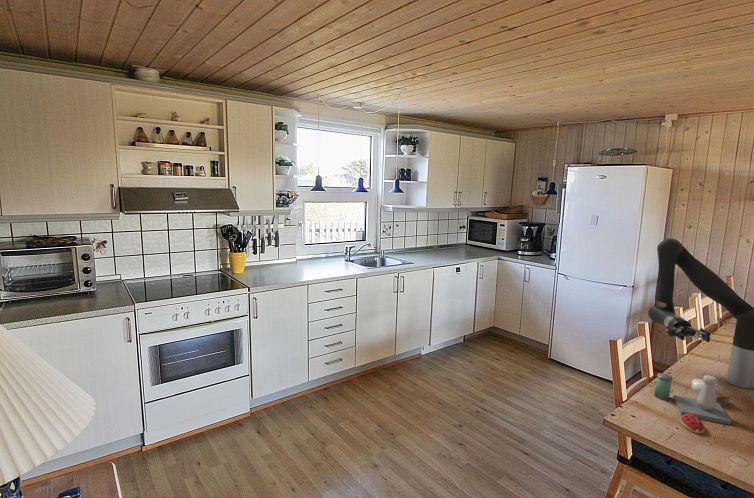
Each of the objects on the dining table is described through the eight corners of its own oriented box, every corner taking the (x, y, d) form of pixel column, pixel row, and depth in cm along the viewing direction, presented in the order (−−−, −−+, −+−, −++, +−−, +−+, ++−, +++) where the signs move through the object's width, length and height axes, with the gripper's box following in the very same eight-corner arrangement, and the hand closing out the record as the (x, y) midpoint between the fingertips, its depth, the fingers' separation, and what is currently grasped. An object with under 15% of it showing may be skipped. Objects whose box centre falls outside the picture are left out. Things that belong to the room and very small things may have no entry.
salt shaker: (711, 405, 161) (716, 374, 159) (717, 413, 156) (723, 381, 153) (693, 402, 163) (698, 372, 161) (699, 410, 158) (704, 378, 155)
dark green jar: (667, 395, 171) (670, 374, 170) (670, 401, 167) (673, 380, 165) (652, 392, 173) (655, 371, 172) (655, 398, 169) (658, 377, 167)
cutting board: (718, 406, 163) (719, 403, 163) (730, 424, 151) (731, 421, 151) (672, 398, 169) (673, 394, 169) (681, 414, 157) (681, 411, 157)
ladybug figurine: (696, 420, 154) (697, 412, 153) (709, 437, 145) (711, 427, 144) (675, 418, 156) (676, 409, 155) (687, 433, 146) (689, 424, 146)
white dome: (709, 389, 177) (710, 380, 176) (714, 397, 170) (715, 388, 170) (689, 385, 179) (690, 377, 179) (693, 393, 173) (695, 384, 172)
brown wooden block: (717, 399, 169) (719, 390, 168) (727, 406, 164) (729, 396, 163) (705, 399, 169) (707, 390, 168) (715, 406, 164) (717, 396, 163)
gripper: (660, 316, 183) (676, 328, 167) (697, 318, 179) (717, 331, 164) (658, 332, 184) (674, 346, 168) (695, 334, 180) (715, 349, 165)
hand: (696, 338), depth 166 cm, fingers open, 8 cm apart
